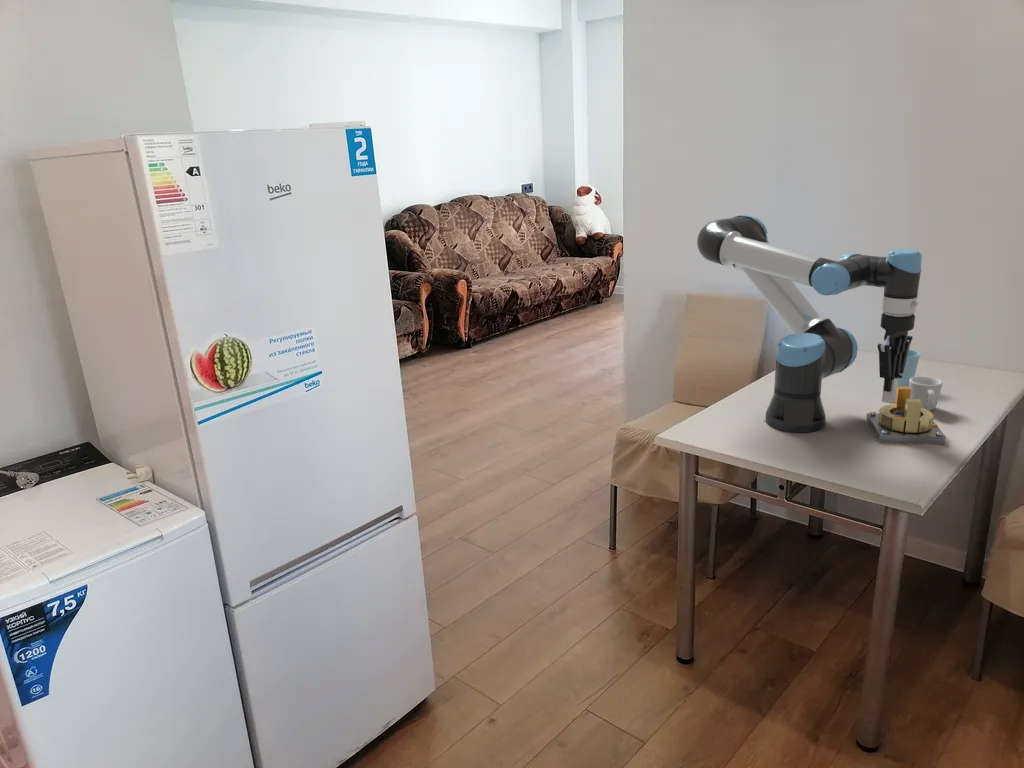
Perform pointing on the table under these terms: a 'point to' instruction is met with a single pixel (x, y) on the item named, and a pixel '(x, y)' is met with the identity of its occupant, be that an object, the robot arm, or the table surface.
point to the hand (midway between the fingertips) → (888, 402)
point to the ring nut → (906, 413)
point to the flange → (904, 437)
